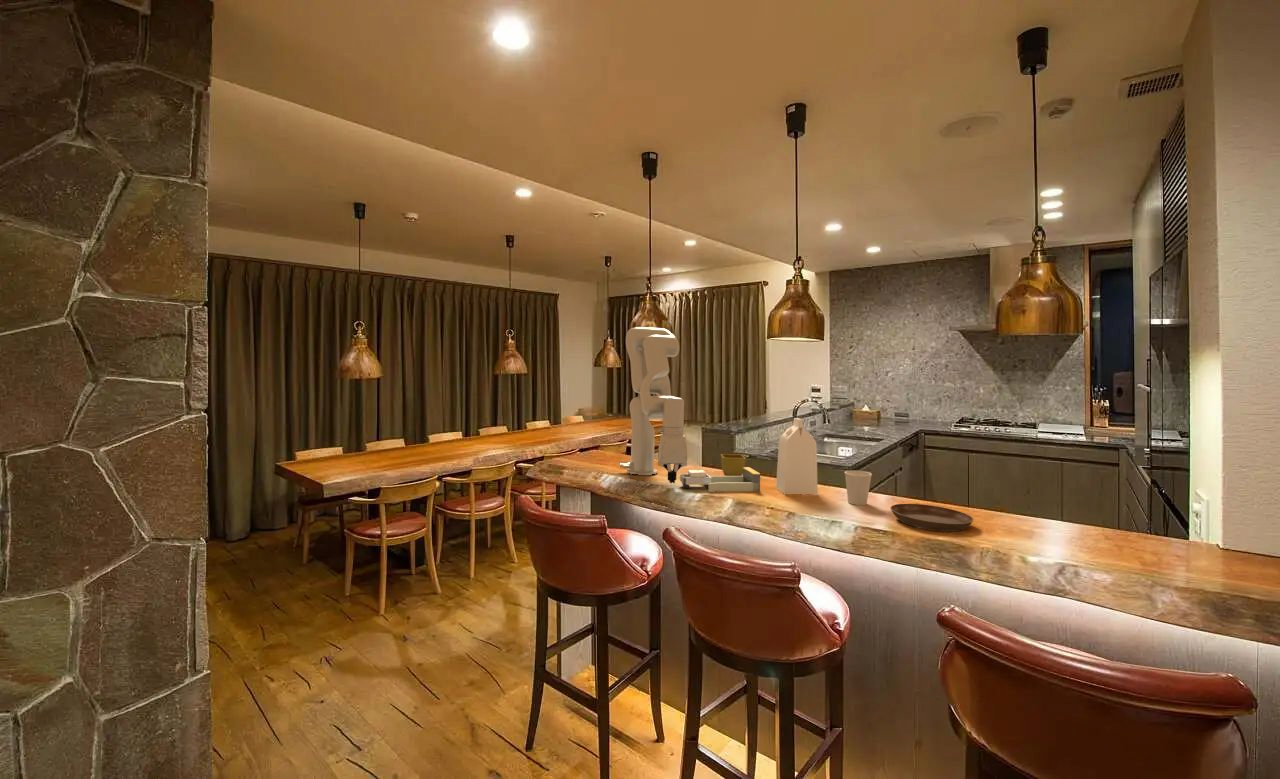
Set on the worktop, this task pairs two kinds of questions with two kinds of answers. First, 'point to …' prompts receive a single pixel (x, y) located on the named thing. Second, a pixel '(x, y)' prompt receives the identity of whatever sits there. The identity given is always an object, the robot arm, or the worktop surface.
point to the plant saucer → (931, 517)
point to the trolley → (695, 478)
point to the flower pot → (732, 464)
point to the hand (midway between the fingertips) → (671, 482)
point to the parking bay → (736, 482)
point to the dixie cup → (857, 486)
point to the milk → (797, 461)
